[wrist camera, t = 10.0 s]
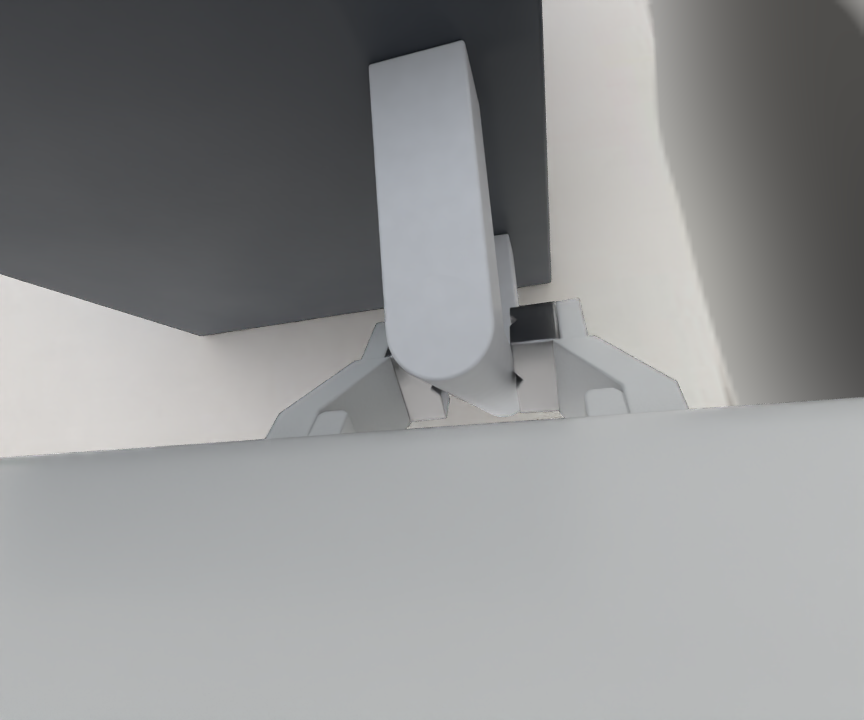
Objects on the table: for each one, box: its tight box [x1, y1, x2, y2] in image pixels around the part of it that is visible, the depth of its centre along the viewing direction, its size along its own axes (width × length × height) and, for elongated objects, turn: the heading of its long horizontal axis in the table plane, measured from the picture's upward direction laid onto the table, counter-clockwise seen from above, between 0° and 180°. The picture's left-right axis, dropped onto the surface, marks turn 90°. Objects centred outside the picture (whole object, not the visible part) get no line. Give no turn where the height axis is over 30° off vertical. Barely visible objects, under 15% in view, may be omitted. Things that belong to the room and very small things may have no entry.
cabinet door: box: [0, 0, 551, 417], centre depth 13 cm, size 6×16×17 cm, turn 95°
